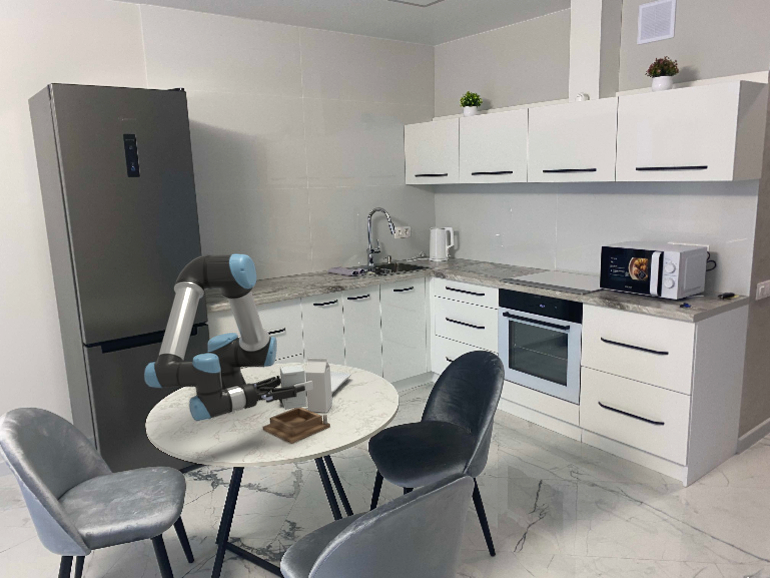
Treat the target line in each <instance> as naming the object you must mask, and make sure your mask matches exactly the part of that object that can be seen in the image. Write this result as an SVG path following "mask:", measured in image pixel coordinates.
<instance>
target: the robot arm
mask: <svg viewBox="0 0 770 578" xmlns="http://www.w3.org/2000/svg"><path fill="white" fill-rule="evenodd" d="M255 265H256V264H255V263H254V260H253V259H252V257H250V256H249V255H248V254H243V253H242V254H241V253H233V254H205V255H204V254H203V255H200V256H197V257H195V258H194V259H192V260H191V261H190V262H188V263H187V264H186V265H185V266H184V268H183V269H182V270H181V271H180V273H179V274H178V276H177V279H176V281H175V283H174V287H173V290H174V292H175V294H174V299H173V303H172V306H171V310H170V314H169V317H168V321H167V324H166V327H165V332H164V334H163V335H164V336H163V339H162V342H161V346H160V349H159V353H158V356H157V360H156V361H154V362H149V363H148V364H147V365H146V366H145V368H144V374H143V375H144V377H143V378H144V382H145V384H146V385H147V386H148V387H150V388H157V389H158V388H159V389H164V388H188V387H189V388H195V393H196V394H195V395H194V396H192V397H190V398H189V401H188V407H189V408H188V409H189V412H190V415H191V417H192V419H193V420H194V421H195V422H200V421H201V422H202V421H205V420H210V419H214V418H217V417H221V416H225V415H227V414H235V413H236V412H238V411H243V410H246V409H251V408H254V407H256V406H257V403H258V401H266V402H265V403H267V404H268V403H272V402H275V401H279V400H282V399H287V398H293V397H297V393H300V392H304V391H308V390H312V389H313V381H308V382H304V383H301V384H297V385H294V387H284V388H281V377H280V374H278V375H276V376H272V377H269V378H266V379H263V380H260V381H257V382H254V383H250V382H249V383H247V382H246V380H245V378H244V375H243V373H242V371H241V370H242V369H241V368H265V367H266V368H269V367H272V366H274V364H275V362H276V357H277V349H278V348H277V347H278V344H277V341H278V340H277V338H276V337H275V336H271V335H270V334H269V332H268V331H267V330H266V329H264V328H263V324H262V321H261V319H260V315H259V311H258V308H257V305H256V302H255V298H254V296H253V293H252V290H253V289H254V287H255V286H256V282H257V272H256V270H257V269H256V266H255ZM207 290H219V292H220V294H221V296H222V297H223V298H225V299H227V301H228V304H229V306H230V310H231V313H232V315H233V318H234V321H235V323H236V327H237V329H238V332H239V335H240V337H239V335H238V333H236V332H228V333H227V332H226V333H221V334H219V335H216V336H215V335H214V336H213V337H211V338H210V339H209V340H208V342H207V353H201V354H198V355H195V356H193V358H192V361H184V359H185V355H186V351H187V347H188V344H189V339H190V336H191V332H192V328H193V325H194V321H195V317H196V312H197V308H198V306H199V301H200V299H202V298H203V296H204V294H205V291H207ZM279 386H280V387H279Z"/></svg>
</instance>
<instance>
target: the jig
mask: <svg viewBox="0 0 770 578" xmlns="http://www.w3.org/2000/svg"><path fill="white" fill-rule="evenodd" d="M329 428H331V423H330V422H328V415H327V414H323V415H321V414H318V413H317V412H312V411H309V410H308V408H307V409H306V408H305V407H300V408H293V409H288V410H287V411H286V410H285V411H284V412H281V413H279V414H276V415H273V416H271V417H269V424H266V425H262V430H263V431H264V432H265V433H269V434H270V435H272V436H275V437H277V438H279V439H281V440H282V441H284V442H287V443H290V444H291V445H292V444H295V443H297V442H299V441H302V440H304V439H306V438H308V437H311V436H313V435H315V434H318V433H320V432H323V431H324V430H327V429H329Z"/></svg>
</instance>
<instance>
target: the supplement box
mask: <svg viewBox="0 0 770 578" xmlns="http://www.w3.org/2000/svg"><path fill="white" fill-rule="evenodd" d="M279 373H280V374H279V376H280V378H281V384H280V388H284V387H294V385H297V384H301V383H304V382H305V369H304V367H303V365H302V364H297V365H289V366H282V367H279ZM282 403H283V404H282V407H283V408H284V411H286V410H287V411H288V410H292V409H294V408H300V407H302V408H308V406H307V393H306V391H304V392H300V393H297V397H293V398H287V399H282Z"/></svg>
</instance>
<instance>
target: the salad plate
mask: <svg viewBox="0 0 770 578" xmlns="http://www.w3.org/2000/svg"><path fill="white" fill-rule="evenodd" d="M304 371H306V369H304ZM330 374H331V391H332V395H333V394H334V393H335V392H336V391H337V390H338V389H339V388H340V387H341V386H342V385H343V384H344V383H345V382H347V380H348V379H350V378H351V376H352V373H351V372H343V371H342V372H341V371H335V370H334V371H331V370H330ZM305 382H306V377H305ZM306 394H307V391H306Z"/></svg>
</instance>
